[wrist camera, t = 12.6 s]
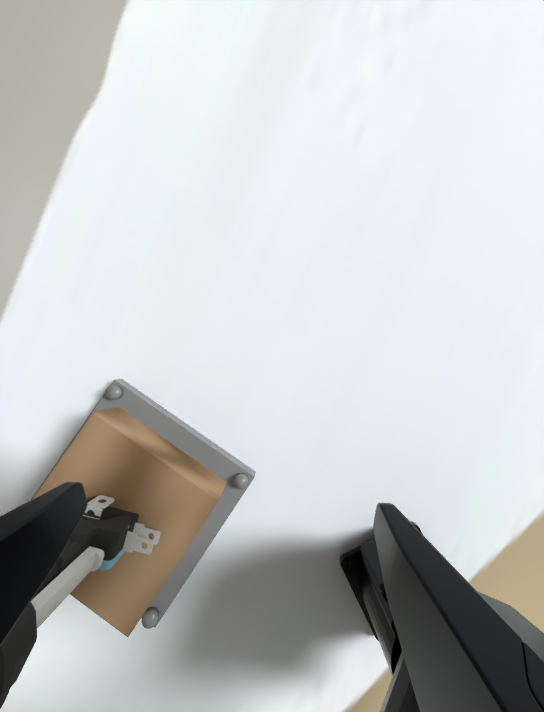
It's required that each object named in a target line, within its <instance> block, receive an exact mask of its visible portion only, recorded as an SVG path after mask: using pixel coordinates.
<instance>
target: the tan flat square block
mask: <svg viewBox="0 0 544 712" xmlns="http://www.w3.org/2000/svg"><path fill="white" fill-rule="evenodd" d="M68 481H73V482H81V483H82V484H83V487H84V490H85V494H86V498H87V501H91V500H93V499H94V498H96V497H97V496H100V495H103V496H107V497H111V498H114V502H113V503H111V504H110V505H109V506H110V507H114V508H117V509H121V510H125V511H129V512H133V513H136V514H138V515H139V518H138V522H137V523H140V524H144V525H145V526H144V527H145V528H149V529H153V530H157V531H160V533H161V534H160V538H159V542H158V544H156V545H155V544H154V545H153V549H152V552H151V554H149V555H148V554H145V553H141V552H137V551H133V552H132V553H130V552H126V551H125V552H124V554H123V555H122V556H121V557H120V558H119V559H118V561H117V562H116V563H115V565H114V566H113V567H112V568H111V569H109V570H106V571H105V570H99V569H97V570H96V571H90V572H89V573H88V574H87V576H86V577H85V578H84V579H83V580H82V581H81V582H80V583H79V584H78V585H77V586H76V587H75V588H74V590H73V591H72V592H71V593H70V595H72V596H73V597H75V598H76V599H77V600H79V601H80V602H81V603H83V604H84V605H85V606H87V607H88V608H89V609H91V610H92V611H93V612H95V613H96V614H97V615H99V616H100V617H101V618H103V619H104V620H105V621H107V622H108V623H109V624H111V625H112V626H113V627H115V628H116V629H117V630H119V631H120V632H122V633H123V634H124V635H126V636H127V637H128V636H129V635H130V633H131V632H132V630H133V629H134V627H135V626H136V624H137V623H138V621H139V620H140V618H141V617H142V615H143V614H144V612H145V611H146V609H147V608H148V606H149V605H150V603H151V602H152V600H153V599H154V597H155V596H156V594H157V593H158V591H159V590H160V588H161V587H162V585H163V584H164V582H165V581H166V579H167V578H168V576H169V575H170V573H171V572H172V570H173V569H174V567H175V566H176V564H177V563H178V561H179V560H180V558H181V557H182V555H183V554H184V552H185V551H186V549H187V548H188V546H189V545H190V543H191V542H192V540H193V539H194V537H195V536H196V534H197V533H198V531H199V530H200V528H201V527H202V525H203V524H204V522H205V521H206V519H207V518H208V516H209V515H210V513H211V511H212V510H213V508H214V507H215V505H216V504H217V502H218V501H219V499H220V496H221V494H222V492H223V490H224V487H225V485H226V483H227V482H226V481H224V480H223V479H221V478H220V477H219V476H217V475H216V474H214V473H213V472H211V471H210V470H208V469H207V468H206V467H204V466H203V465H201V464H200V463H198V462H197V461H196V460H194V459H193V458H191V457H190V456H188V455H187V454H186V453H184V452H183V451H181V450H180V449H178V448H177V447H176V446H174V445H173V444H171V443H170V442H168V441H167V440H166V439H164V438H163V437H161V436H160V435H158V434H157V433H156V432H154V431H153V430H151V429H150V428H148V427H147V426H146V425H144V424H143V423H141V422H140V421H138V420H137V419H136V418H134V417H133V416H131V415H130V414H128V413H127V412H126V411H124V410H123V409H121V408H120V407H117V408H112V409H108V410H103V411H99V412H95V413H92V415H91V416H90V418H89V419H88V421H87V422H86V424H85V425H84V426H83V428H82V429H81V431H80V432H79V434H78V435H77V436H76V438H75V439H74V441H73V442H72V444H71V445H70V447H69V448H68V449H67V451H66V452H65V454H64V455H63V457H62V458H61V459H60V461H59V462H58V464H57V465H56V467H55V468H54V470H53V471H52V472H51V474H50V475H49V477H48V478H47V480H46V481H45V483H44V484H43V485H42V487H41V488H40V490H39V491H38V493H37V494H36V495H35V497H34V498H33V499H35V498H36V497H38V496H40V495H42V494H44V493H46V492H48V491H50V490H52V489H53V488H55V487H57V486H59V485H61V484H63V483H65V482H68ZM98 502H100V503H104V502H107V501H106V500H99V501H98ZM148 537H149V539H154V534H152V533H150V534H149V535H148ZM141 547H142V548H143V549H146V548H147V544H146V543H144V542H143V543H142V544H141Z"/></svg>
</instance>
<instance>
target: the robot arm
mask: <svg viewBox="0 0 544 712" xmlns="http://www.w3.org/2000/svg"><path fill="white" fill-rule="evenodd" d="M86 508H87V498H86V494H85V490H84V487H83V484H82V483H81V482H73V481H68V482H65V483H63V484H61V485H59V486H57V487H55V488H53V489H52V490H50V491H48V492H46V493H44V494H42V495H40V496H38V497H36V498H35V499H33V500H31V501H29V502H27V503H25V504H23V505H21V506H19V507H18V508H16V509H14V510H12V511H10V512H8V513H6V514H4V515H2V516H1V517H0V646H1V644H2V643H3V641H4V640H5V638H6V637H7V635H8V634H9V632H10V631H11V629H12V628H13V626H14V625H15V623H16V622H17V620H18V619H19V617H20V616H21V614H22V613H23V611H24V610H25V608H26V607H27V605H28V604H29V603H30V601H31V600H32V598H33V597H34V595H35V594H36V592H37V591H38V589H39V588H40V586H41V585H42V583H43V582H44V580H45V579H46V577H47V576H48V574H49V573H50V571H51V570H52V568H53V567H54V565H55V563H56V562H57V560H58V558H59V557H60V555H61V553H62V551H63V550H64V548H65V546H66V544H67V543H68V541H69V539H70V537H71V535H72V534H73V532H74V530H75V528H76V527H77V525H78V523H79V521H80V520H81V518H82V516H83V514H84V513H85V511H86ZM373 527H374V535H375V538H373V539H371V540H369V541H367V542H365V543H363V544H362V545H361V546H359V547H357V548H355V549H353V550H351V551H349V552H347V553H345V554H343V555H342V556H341V557H340V564H341V567H342V569H343V571H344V573H345V575H346V577H347V579H348V581H349V584H350V586H351V588H352V590H353V592H354V594H355V596H356V598H357V600H358V602H359V604H360V606H361V608H362V610H363V612H364V614H365V617H366V619H367V621H368V623H369V625H370V627H371V629H372V631H373V633H374V635H375V637H376V639H377V640H378V641H379V642H380V645H381V647H382V650H383V652H384V655H385V658H386V660H387V663H388V666H389V668H390V671H391V673H392V676H393V677H392V680H391V683H390V685H389V688H388V691H387V693H386V696H385V699H384V702H383V704H382V707H381V710H380V712H544V633H543V632H541V631H540V630H539V629H538V628H537V627H535V626H534V625H533V624H532V623H530V622H529V621H528V620H527V619H526V618H525V617H523V616H522V615H521V614H520V613H519V612H517V611H516V610H515V609H514V608H512V607H511V606H509V605H507V604H505V603H503V602H500V601H498V600H495V599H493V598H491V597H488V596H486V595H484V594H482V593H479V592H477V591H476V590H475V589H474V588H473V587H472V586H471V585H470V584H469V583H468V582H467V581H466V580H465V579H464V577H463V576H462V575H461V574H460V573H459V572H458V571H457V570H456V569H455V568H454V567H453V566H452V565H451V564H450V563H449V562H448V561H447V560H446V559H445V558H444V557H443V556H442V555H441V553H440V552H439V551H438V550H437V549H436V548H435V547H434V546H433V545H432V544H431V543H430V542H429V541H428V540H427V539H426V538H425V537H424V536H423V534H422V532H421V530H420V528H419V527H418V526H417V525H416V524H415V523H414V522H411V521H409V520H408V519H407V518H406V517H405V516H404V515H403V514H402V513H401V512H400V511H399V510H398V509H397V508H396V507H395V506H394V505H393V504H390V503H378V505H377V507H376V513H375V518H374V526H373ZM346 561H350V562H349V563H348V564H344V563H345V562H346Z"/></svg>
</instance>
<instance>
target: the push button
mask: <svg viewBox="0 0 544 712" xmlns="http://www.w3.org/2000/svg"><path fill="white" fill-rule="evenodd" d="M99 500H106V501H107V502H104V503H100V502H98V501H99ZM113 502H114V498H111V497H107V496H103V495H100V496H97V497H96V498H94V499H93V500H91V501H87V508H86V511H85V513H84V514H83V516H82V518H81V520H80V521H79V523H78V525H77V527H76V528H75V530H74V532H73V534H72V535H71V537H70V539H69V541H68V543H67V544H66V546H65V548H64V550H63V551H62V553H61V555H60V557H59V558H58V560H57V562H56V563H55V565H54V567H53V568H52V570H51V571H50V573H49V574H48V576H47V577H46V579H45V580H44V582H43V583H42V585H41V586H40V588H39V589H38V591H37V592H36V594H35V595H34V597H33V598H32V600H31V601H30V603H29V604H28V605H27V607H26V608H25V610H24V611H23V613H22V614H21V616H20V617H19V619H18V620H17V622H16V623H15V625H14V626H13V628H12V629H11V631H10V632H9V634H8V635H7V637H6V638H5V640H4V641H3V643H2V644H1V646H0V708H1V707H2V705H3V703H4V701H5V699H6V697H7V695H8V692H9V689H10V687H11V686H12V685H13V684H14V683H15V681H16V680H17V678H18V676H19V674H20V672H21V670H22V668H23V666H24V664H25V662H26V660H27V658H28V656H29V654H30V652H31V650H32V648H33V646H34V644H35V642H36V639H37V628H38V627H39V626H40V625H41V624H42V623H43V622H44V621H45V620H46V619H47V617H48V616H49V615H50V614H51V613H52V612H53V611H54V610H55V609H56V608H57V607H58V606H59V605H60V603H61V602H62V601H63V600H64V599H65V598H66V597H67V596H68V595H69V594H70V593H71V592H72V591H73V590H74V588H75V587H76V586H77V585H78V584H79V583H80V582H81V581H82V580H83V579H84V578H85V577H86V576H87V574H88V573H89V572H90V571H96V570H97V569H99V570H105V571H106V570H109V569H111V568H112V567H113V566H114V565H115V563H116V562H117V561H118V559H119V558H120V557H121V556H122V555H123V554H124V552H125V551H126V552H130V553H132V552H133V551H137V552H141V553H145V554H148V555H149V554H151V552H152V549H153V545H154V544H155V545H156V544H158V542H159V538H160V534H161V533H160V531H157V530H153V529H149V528H145V527H144V526H145V525H144V524H140V523H137V522H138V518H139V515H138V514H136V513H133V512H129V511H125V510H121V509H117V508H114V507H110V506H109V505H110V504H111V503H113ZM150 533H152V534H154V539H149V537H148V535H149V534H150ZM143 542H144V543H146V544H147V548H146V549H143V548H142V547H141V544H142V543H143Z"/></svg>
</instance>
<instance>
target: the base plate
mask: <svg viewBox="0 0 544 712" xmlns="http://www.w3.org/2000/svg"><path fill="white" fill-rule="evenodd" d="M117 407H120V408H121V409H123V410H124V411H126V412H127V413H128V414H130V415H131V416H133V417H134V418H136V419H137V420H138V421H140V422H141V423H143V424H144V425H146V426H147V427H148V428H150V429H151V430H153V431H154V432H156V433H157V434H158V435H160V436H161V437H163V438H164V439H166V440H167V441H168V442H170V443H171V444H173V445H174V446H176V447H177V448H178V449H180V450H181V451H183V452H184V453H186V454H187V455H188V456H190V457H191V458H193V459H194V460H196V461H197V462H198V463H200V464H201V465H203V466H204V467H206V468H207V469H208V470H210V471H211V472H213V473H214V474H216V475H217V476H219V477H220V478H221V479H223V480H224V481H226V482H227V483H226V485H225V487H224V490H223V492H222V494H221V496H220V499H219V501H218V502H217V504H216V505H215V507H214V508H213V510H212V511H211V513H210V515H209V516H208V518H207V519H206V521H205V522H204V524H203V525H202V527H201V528H200V530H199V531H198V533H197V534H196V536H195V537H194V539H193V540H192V542H191V543H190V545H189V546H188V548H187V549H186V551H185V552H184V554H183V555H182V557H181V558H180V560H179V561H178V563H177V564H176V566H175V567H174V569H173V570H172V572H171V573H170V575H169V576H168V578H167V579H166V581H165V582H164V584H163V585H162V587H161V588H160V590H159V591H158V593H157V594H156V596H155V597H154V599H153V600H152V602H151V603H150V605H149V606H148V608H147V609H146V611H145V612H144V614H143V615H142V617H141V618H142V624H143V626H144V627H145V628H148V629H149V628H152V627H156V625H157V624H158V622H159V621H160V619H161V618H162V616H163V615H164V613H165V612H166V610H167V609H168V607H169V606H170V604H171V603H172V601H173V600H174V598H175V597H176V595H177V594H178V592H179V590H180V589H181V587H182V586H183V584H184V583H185V581H186V580H187V578H188V577H189V575H190V574H191V572H192V571H193V569H194V568H195V566H196V565H197V563H198V562H199V560H200V559H201V557H202V556H203V554H204V553H205V551H206V550H207V548H208V547H209V545H210V544H211V542H212V541H213V539H214V538H215V536H216V534H217V533H218V531H219V530H220V528H221V527H222V525H223V524H224V522H225V521H226V519H227V518H228V516H229V515H230V513H231V512H232V510H233V509H234V507H235V506H236V504H237V503H238V501H239V500H240V498H241V497H242V495H243V494H244V492H245V491H246V489H247V488H248V486H249V485H250V483H251V482H252V480H253V478H254V477H255V471H253V470H252V469H251V468H249V467H248V466H246V465H245V464H243V463H242V462H241V461H239V460H238V459H236V458H235V457H233V456H232V455H230V454H229V453H228V452H226V451H225V450H223V449H222V448H220V447H219V446H217V445H216V444H215V443H213V442H212V441H210V440H209V439H207V438H206V437H204V436H203V435H202V434H200V433H199V432H197V431H196V430H194V429H193V428H192V427H190V426H189V425H187V424H186V423H184V422H183V421H181V420H180V419H179V418H177V417H176V416H174V415H173V414H171V413H170V412H168V411H167V410H166V409H164V408H163V407H161V406H160V405H158V404H157V403H155V402H154V401H153V400H151V399H150V398H148V397H147V396H145V395H144V394H143V393H141V392H140V391H138V390H137V389H135V388H134V387H132V386H131V385H130V384H128V383H127V382H125V381H124V380H122V379H118V380H114V381H113V383H112V384H111V386H110V387H108V388H107V390H106V392H105V394H104V396H103V397H102V399H101V400H100V402H99V403H98V404H97V406H96V407H95V409H94V410H93V412H92V413H95V412H99V411H103V410H108V409H112V408H117ZM92 413H91V414H90V416H91V415H92ZM90 416H89V417H88V419H89V418H90ZM88 419H87V420H86V422H87V421H88ZM86 422H85V423H84V425H85V424H86ZM84 425H83V426H84ZM83 426H82V427H81V429H82V428H83ZM81 429H80V430H79V432H80V431H81ZM79 432H78V433H77V435H78V434H79ZM77 435H76V436H77ZM76 436H75V437H74V439H75V438H76ZM74 439H73V440H72V442H73V441H74ZM72 442H71V443H70V445H71V444H72ZM70 445H69V446H68V448H69V447H70ZM68 448H67V449H68ZM67 449H66V450H65V452H66V451H67ZM65 452H64V453H63V455H64V454H65ZM63 455H62V456H61V458H62V457H63ZM61 458H60V459H61ZM60 459H59V460H58V462H59V461H60ZM58 462H57V463H56V465H57V464H58ZM56 465H55V466H54V468H55V467H56ZM54 468H53V469H52V471H53V470H54ZM52 471H51V472H52ZM51 472H50V473H49V475H50V474H51ZM49 475H48V476H47V478H48V477H49ZM47 478H46V479H45V481H46V480H47ZM45 481H44V482H43V484H44V483H45ZM43 484H42V485H43ZM42 485H41V486H40V488H41V487H42ZM40 488H39V489H38V491H39V490H40ZM38 491H37V492H36V494H37V493H38ZM36 494H35V495H36ZM35 495H34V496H33V498H34V497H35ZM33 498H32V499H31V500H33Z"/></svg>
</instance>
